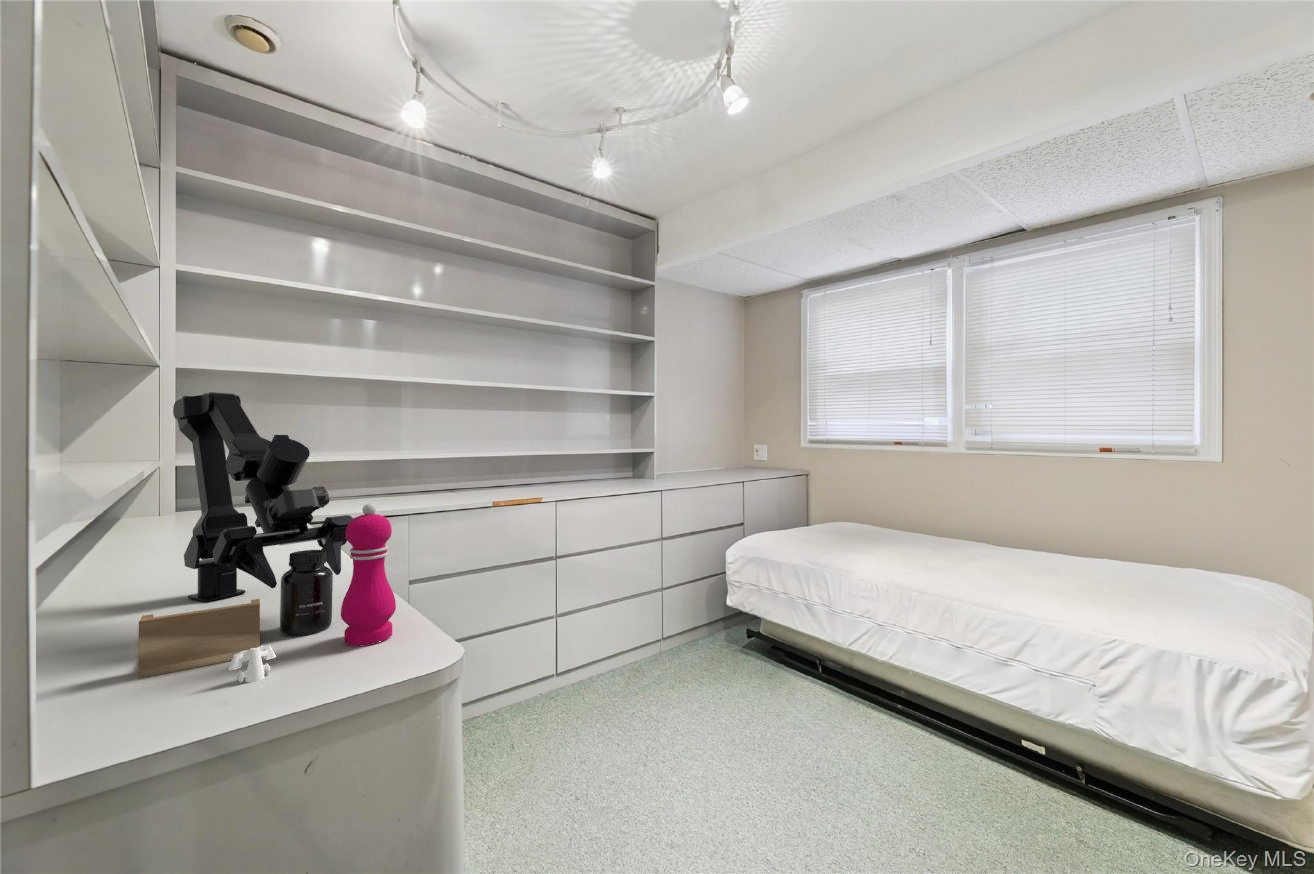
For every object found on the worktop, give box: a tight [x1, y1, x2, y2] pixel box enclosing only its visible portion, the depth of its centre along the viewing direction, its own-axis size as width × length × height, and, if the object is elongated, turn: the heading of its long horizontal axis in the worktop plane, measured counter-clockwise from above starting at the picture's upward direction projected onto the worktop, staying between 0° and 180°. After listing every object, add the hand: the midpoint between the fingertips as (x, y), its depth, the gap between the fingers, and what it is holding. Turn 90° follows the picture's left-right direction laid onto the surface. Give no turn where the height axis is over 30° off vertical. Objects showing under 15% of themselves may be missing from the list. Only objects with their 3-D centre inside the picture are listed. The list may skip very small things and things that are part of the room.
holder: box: [137, 598, 261, 679], centre depth 74 cm, size 11×12×7 cm
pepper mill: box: [340, 503, 397, 647], centre depth 79 cm, size 7×7×20 cm
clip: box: [227, 644, 277, 684], centre depth 66 cm, size 5×2×4 cm, turn 146°
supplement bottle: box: [279, 549, 334, 637], centre depth 83 cm, size 7×7×12 cm
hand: (308, 579), depth 83 cm, fingers open, 9 cm apart
